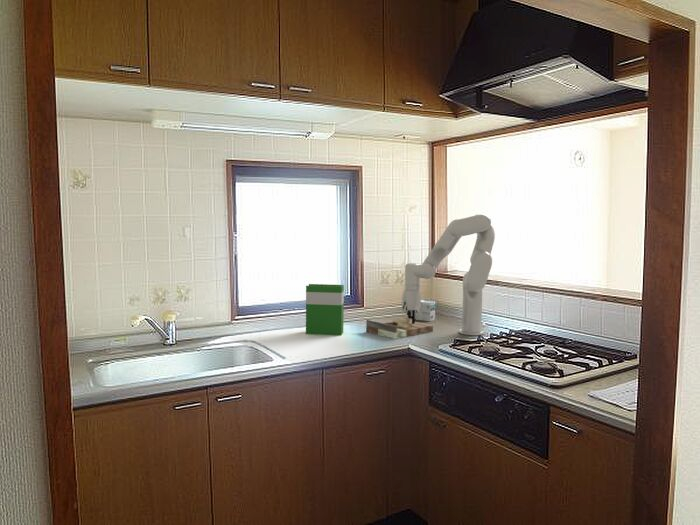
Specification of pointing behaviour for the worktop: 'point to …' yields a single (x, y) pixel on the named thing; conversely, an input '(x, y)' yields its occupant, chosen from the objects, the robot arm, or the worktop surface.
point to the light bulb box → (426, 311)
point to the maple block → (404, 322)
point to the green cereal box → (324, 309)
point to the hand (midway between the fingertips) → (411, 323)
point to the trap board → (396, 329)
